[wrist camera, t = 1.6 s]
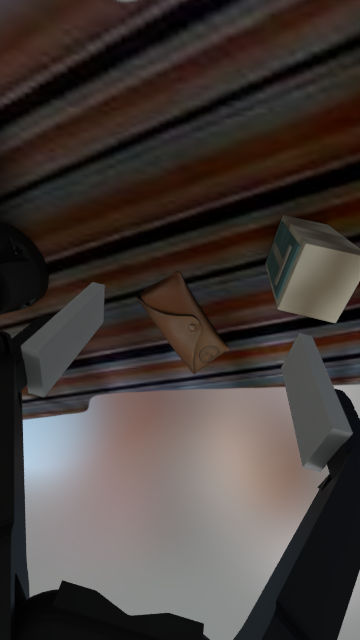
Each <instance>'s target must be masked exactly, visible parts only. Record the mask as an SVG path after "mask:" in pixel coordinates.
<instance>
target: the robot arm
mask: <svg viewBox="0 0 360 640" xmlns="http://www.w3.org/2000/svg"><path fill="white" fill-rule="evenodd" d="M47 286H48V272H47V268H46V265H45V262H44V260H43V258H42V256H41V254H40V252H39V251H38V249H37V248H36V247H35V245H34V244H33V243H32V242H31V241H30V240H29V239H28V238H27V237H26V236H25V235H24V234H23V233H21V232H20V231H18V230H17V229H15V228H13V227H12V226H10V225H7V224H4V223H1V222H0V315H1V314H5V313H9V312H13V311H17V310H21V309H25V308H27V307H30V306H31V305H33V304H34V303H36V302H37V301H38V300H40V299H41V298H42V297H43V295H44V294H45V292H46V290H47ZM104 289H105V285H102V284H98V283H94V282H92V283H91V284H90V285H89V286H88V287H87V288H85V289H84V290H83V291H82V292H81V293H80V294H79V295H78V296H76V297H75V298H74V299H73V300H72V301H71V302H70V303H69V304H67V305H66V306H65V307H64V308H63V309H62V310H61V311H60V312H58V313H57V314H56V315H55V316H54V317H49V316H43V317H40V318H38V319H36V320H34V321H33V322H32V323H31V324H30V325H29V326H27V327H26V328H25V329H23V331H21V332H20V333H19V334H17V335H16V336H15V337H14V338H12V339H11V336H10V334H8V333H7V332H3V331H0V640H210V639H209V638H207V637H206V636H205V635H204V634H203V628H204V624H203V623H200V622H197V621H194V620H190V619H186V618H184V617H180V616H177V615H174V614H170V613H160V614H148V615H135V616H130V615H127V614H126V613H124V612H123V611H122V610H120V609H119V608H118V607H117V606H115V605H114V604H112V603H111V602H110V601H109V600H108V599H106V598H105V597H104V596H102V595H101V594H100V593H98V592H97V591H95V590H92V589H88V588H85V587H82V586H79V585H76V584H72V583H69V582H66V581H62V582H61V585H60V587H59V589H58V590H51V591H46V592H42V593H40V594H37V595H34V596H32V597H30V598H29V580H28V570H27V561H26V528H25V493H24V492H25V491H24V459H23V458H24V456H23V424H22V423H23V420H22V394H21V390H22V389H23V388H24V387H25V386H26V385H27V387H28V393H31V394H34V395H38V396H42V397H45V396H46V394H47V393H48V392H49V390H50V389H51V388H52V387H53V385H54V384H55V383H56V382H57V380H58V379H59V378H60V377H61V375H62V374H63V373H64V371H65V370H66V369H67V368H68V366H69V365H70V364H71V363H72V361H73V360H74V359H75V358H76V356H77V355H78V354H79V353H80V351H81V350H82V349H83V347H84V346H85V345H86V344H87V342H88V341H89V340H90V339H91V337H92V336H93V335H94V334H95V332H96V331H97V330H98V328H99V327H100V326H101V325H102V323H103V315H104ZM281 369H282V373H283V378H284V382H285V387H286V392H287V396H288V401H289V405H290V410H291V415H292V419H293V424H294V429H295V433H296V438H297V442H298V447H299V452H300V457H301V461H302V466H303V467H304V468H307V469H311V470H315V471H318V472H321V471H322V469H323V468H324V467H325V466H326V465H327V466H328V469H329V473H330V474H329V475H328V476H327V477H326V478H325V480H324V481H323V482H322V483H321V484H320V485H319V486H318V488H319V491H318V493H317V495H316V497H315V498H314V500H313V502H312V504H311V505H310V507H309V509H308V511H307V513H306V515H305V516H304V518H303V520H302V522H301V523H300V525H299V527H298V529H297V531H296V532H295V534H294V536H293V538H292V540H291V541H290V543H289V545H288V547H287V548H286V550H285V552H284V554H283V556H282V558H281V559H280V561H279V563H278V565H277V567H276V568H275V570H274V572H273V574H272V576H271V577H270V579H269V581H268V583H267V584H266V586H265V588H264V590H263V591H262V593H261V595H260V597H259V599H258V601H257V602H256V604H255V606H254V608H253V609H252V611H251V613H250V615H249V616H248V619H247V620H246V622H245V623H244V625H243V627H242V629H241V630H240V631H239V633H238V634H237V635H236V637H235V638H234V639H233V640H337V638H338V635H339V632H340V629H341V626H342V622H343V619H344V616H345V613H346V610H347V607H348V604H349V601H350V598H351V595H352V592H353V589H354V586H355V582H356V580H357V576H358V573H359V570H360V419H359V418H358V415H357V412H356V411H355V410H354V406H353V404H352V402H351V400H350V399H349V398H348V396H346V394H345V393H344V392H343V391H341V390H337V389H334V387H333V385H332V382H331V380H330V378H329V375H328V373H327V371H326V368H325V366H324V364H323V361H322V359H321V356H320V354H319V352H318V349H317V347H316V345H315V342H314V340H313V338H312V336H309V335H305V334H301V333H299V334H298V336H297V338H296V340H295V342H294V344H293V346H292V348H291V350H290V352H289V354H288V356H287V358H286V360H285V362H284V363H283V365H282V367H281Z"/></svg>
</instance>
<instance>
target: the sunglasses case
mask: <svg viewBox="0 0 360 640" xmlns="http://www.w3.org/2000/svg"><path fill="white" fill-rule="evenodd" d="M136 298H137V299H138V300H139V302H140V303H141V304H142V306H143V307H144V309H145V310H146V312H147V313H148V315H149V316H150V318H151V319H152V320H153V322H154V323H155V325H156V326H157V327H158V329H159V330H160V331H161V333H162V334H163V335H164V337H165V338H166V339H167V341H168V342H169V343H170V345H171V346H172V347H173V349H174V350H175V351H176V353H177V354H178V355H179V357H180V358H181V359H182V360H183V361H184V363H185V364H186V365H187V366H188V367H189V369H190V370H191V371H192V373H193V374H195V373H196V372H197V371H199V370H200V369H202V368H203V367H204V366H206V365H207V364H208V363H210V362H211V361H213V360H214V359H215V358H217V357H218V356H219V355H221V354H222V353H224V352H225V351H229V350H230V349H229V347H228V346H227V344H226V343H225V342H224V341H223V340H222V339H221V338H220V336H219V335H218V334H217V332H216V331H215V329H214V328H213V327H212V325H211V324H210V322H209V321H208V319H207V317H206V316H205V314H204V313H203V311H202V310H201V308H200V307H199V305H198V303H197V302H196V300H195V299H194V297H193V295H192V294H191V292H190V290H189V289H188V287H187V285H186V283H185V281H184V278H183V276H182V274H181V273H180V272H175V273H174V274H173V275H171V276H169V277H167V278H165V279H164V280H162V281H160V282H158V283H156V284H154V285H152V286H150V287H149V288H146V289H145V290H144V291H142V290H141V291H139V292H138V294H137V295H136Z"/></svg>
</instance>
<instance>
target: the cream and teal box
mask: <svg viewBox="0 0 360 640" xmlns="http://www.w3.org/2000/svg"><path fill="white" fill-rule="evenodd" d="M265 265H266V269H267V272H268V276H269V280H270V283H271V287H272V290H273V294H274V298H275V301H276V305H277V309H278V310H283V311H287V312H291V313H295V314H299V315H304V316H308V317H312V318H316V319H320V320H325V321H329V322H333V323H336V321H337V320H338V318H339V316H340V314H341V313H342V311H343V309H344V307H345V306H346V304H347V302H348V301H349V299H350V297H351V295H352V294H353V292H354V290H355V288H356V287H357V285H358V283H359V281H360V249H359V248H358V247H357V246H355V245H354V244H353V243H351V242H350V241H349V240H347V239H346V238H345V237H343V236H342V235H341V234H339V233H338V232H337V231H335V230H334V229H333V228H331V227H330V226H329V225H326V224H322V223H317V222H313V221H308V220H304V219H299V218H295V217H290V216H285V215H283V217H282V219H281V222H280V225H279V228H278V230H277V233H276V236H275V239H274V241H273V244H272V247H271V250H270V252H269V255H268V258H267V261H266V264H265Z"/></svg>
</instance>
